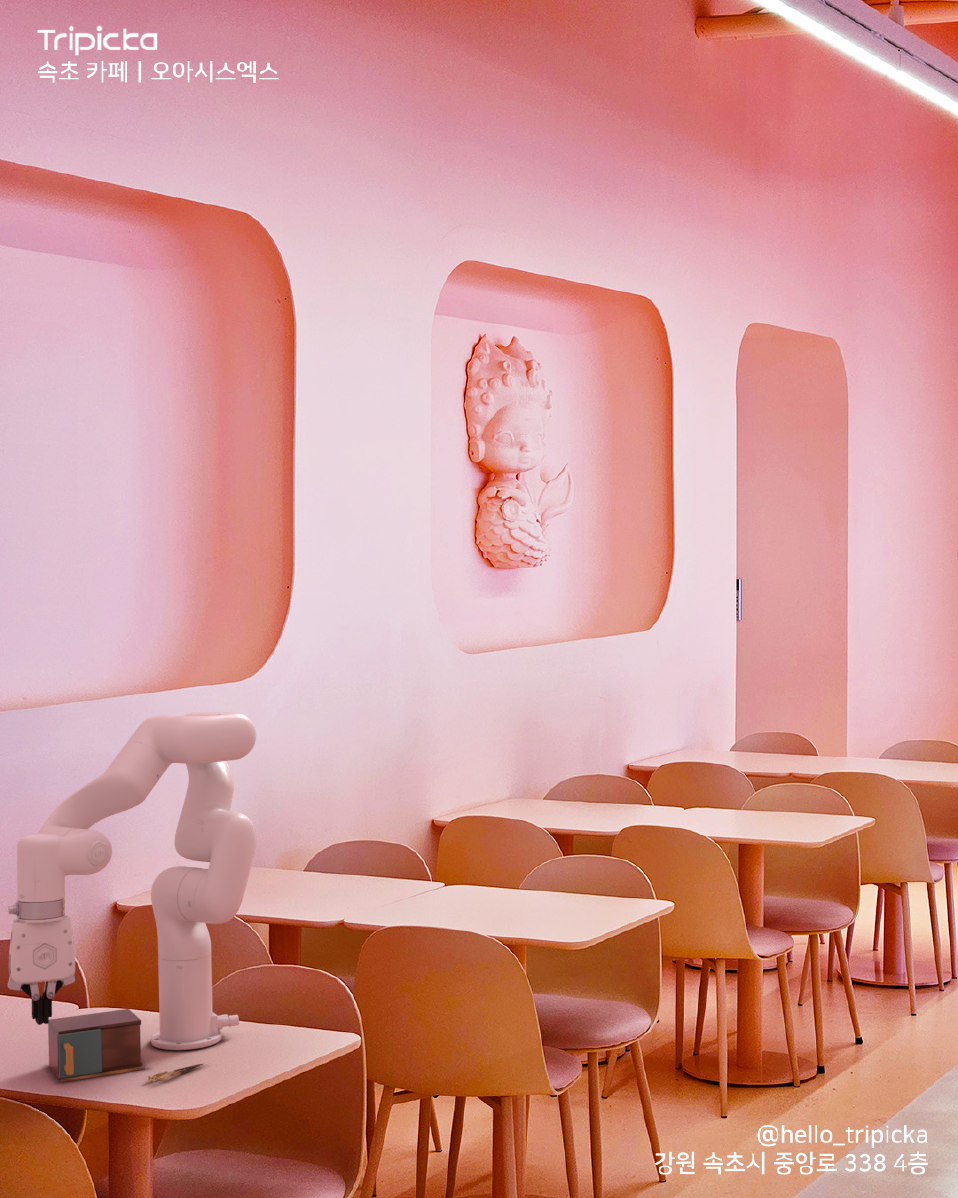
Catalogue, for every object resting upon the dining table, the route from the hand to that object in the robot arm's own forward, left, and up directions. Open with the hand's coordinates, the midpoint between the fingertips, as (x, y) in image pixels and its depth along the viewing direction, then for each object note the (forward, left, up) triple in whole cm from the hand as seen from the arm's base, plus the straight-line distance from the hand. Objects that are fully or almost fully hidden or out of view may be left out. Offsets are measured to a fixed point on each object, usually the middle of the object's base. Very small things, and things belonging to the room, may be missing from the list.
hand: (41, 1022), depth 251 cm
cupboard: (-10, -9, -11) cm, 17 cm away
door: (-7, -2, -11) cm, 13 cm away
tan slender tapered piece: (-22, +4, -11) cm, 25 cm away
